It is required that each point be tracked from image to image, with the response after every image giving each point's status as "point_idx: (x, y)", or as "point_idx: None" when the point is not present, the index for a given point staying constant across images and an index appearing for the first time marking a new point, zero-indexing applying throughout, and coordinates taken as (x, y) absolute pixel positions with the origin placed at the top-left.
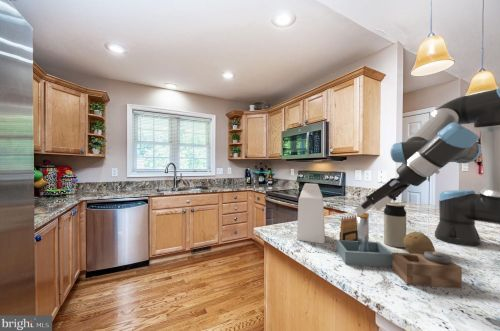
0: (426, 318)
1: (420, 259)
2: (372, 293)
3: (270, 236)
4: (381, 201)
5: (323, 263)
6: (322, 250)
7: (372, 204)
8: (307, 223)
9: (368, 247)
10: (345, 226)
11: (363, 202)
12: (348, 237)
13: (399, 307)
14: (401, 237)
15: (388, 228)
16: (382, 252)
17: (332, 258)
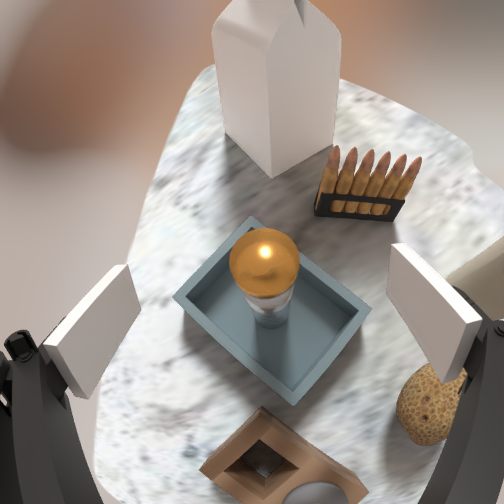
0: (120, 488)
1: (287, 477)
2: (110, 411)
3: (189, 99)
4: (420, 301)
5: (143, 268)
6: (216, 211)
7: (74, 386)
8: (237, 107)
9: (275, 323)
10: (342, 178)
11: (72, 315)
12: (349, 206)
13: (111, 456)
14: None
15: (473, 278)
16: (328, 347)
17: (189, 262)
